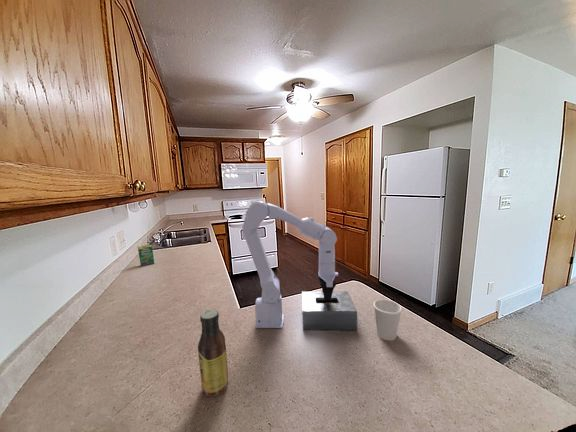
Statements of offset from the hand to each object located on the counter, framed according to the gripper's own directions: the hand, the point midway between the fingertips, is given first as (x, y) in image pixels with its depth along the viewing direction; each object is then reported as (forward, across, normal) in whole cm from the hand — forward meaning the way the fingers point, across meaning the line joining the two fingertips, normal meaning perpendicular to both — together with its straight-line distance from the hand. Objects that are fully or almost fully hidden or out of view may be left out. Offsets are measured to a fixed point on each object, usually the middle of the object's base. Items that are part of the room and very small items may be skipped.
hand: (326, 297), depth 80 cm
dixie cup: (+8, -9, -18) cm, 22 cm away
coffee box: (+8, +61, +111) cm, 127 cm away
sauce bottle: (+8, -29, +31) cm, 43 cm away
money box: (+8, 0, 0) cm, 8 cm away
